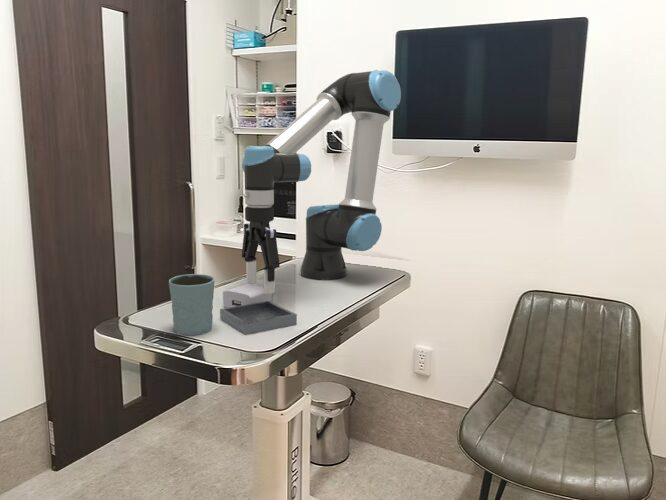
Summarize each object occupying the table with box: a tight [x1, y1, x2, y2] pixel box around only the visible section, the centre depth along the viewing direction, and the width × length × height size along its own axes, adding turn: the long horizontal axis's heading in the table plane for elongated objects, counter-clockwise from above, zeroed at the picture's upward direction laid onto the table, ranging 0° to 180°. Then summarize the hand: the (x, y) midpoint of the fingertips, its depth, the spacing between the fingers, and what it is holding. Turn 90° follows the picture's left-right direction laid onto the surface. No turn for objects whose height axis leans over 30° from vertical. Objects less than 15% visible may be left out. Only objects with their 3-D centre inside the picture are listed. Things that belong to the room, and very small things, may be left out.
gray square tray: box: [219, 301, 298, 336], centre depth 134 cm, size 14×14×2 cm
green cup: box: [168, 273, 215, 336], centre depth 127 cm, size 10×10×12 cm
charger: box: [222, 283, 276, 308], centre depth 149 cm, size 5×9×15 cm
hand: (260, 288), depth 149 cm, fingers closed on charger, 10 cm apart
